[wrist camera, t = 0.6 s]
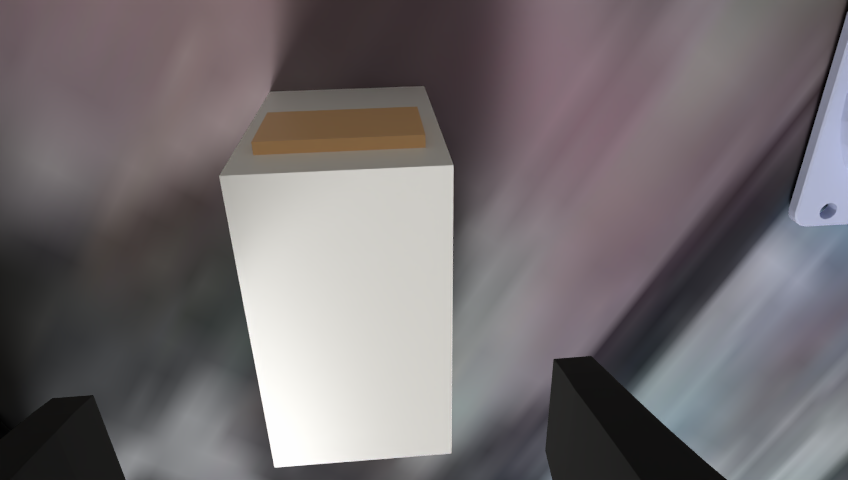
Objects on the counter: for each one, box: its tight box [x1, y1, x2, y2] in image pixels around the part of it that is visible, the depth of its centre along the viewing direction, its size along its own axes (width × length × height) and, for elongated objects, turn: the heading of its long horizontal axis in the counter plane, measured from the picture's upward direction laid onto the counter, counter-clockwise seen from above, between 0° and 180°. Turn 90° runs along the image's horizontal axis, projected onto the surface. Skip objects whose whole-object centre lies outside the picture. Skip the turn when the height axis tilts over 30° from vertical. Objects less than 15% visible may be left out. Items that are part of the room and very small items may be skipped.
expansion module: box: [219, 86, 454, 467], centre depth 14 cm, size 4×7×6 cm, turn 1°
